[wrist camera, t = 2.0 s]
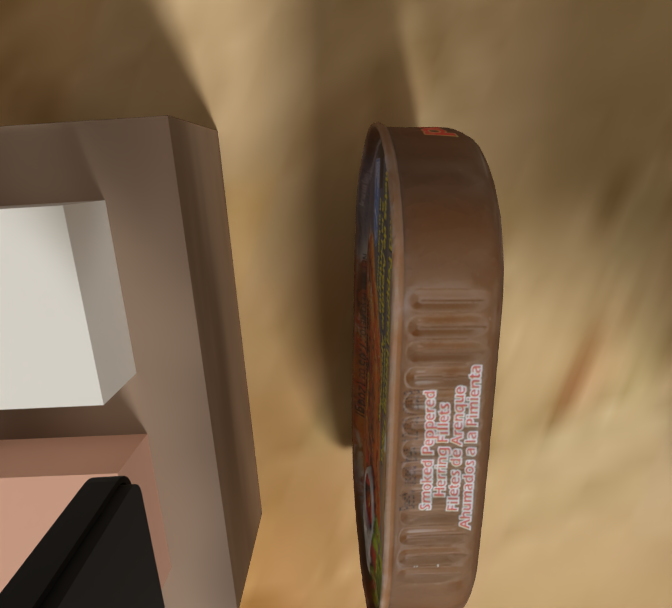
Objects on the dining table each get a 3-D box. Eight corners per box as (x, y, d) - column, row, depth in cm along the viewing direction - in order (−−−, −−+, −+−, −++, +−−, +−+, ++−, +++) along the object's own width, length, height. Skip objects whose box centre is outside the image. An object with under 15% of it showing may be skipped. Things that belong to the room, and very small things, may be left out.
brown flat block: (217, 131, 17) (167, 115, 12) (262, 513, 21) (237, 613, 17) (-84, 149, 17) (-248, 142, 13) (18, 522, 22) (-75, 622, 17)
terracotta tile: (147, 433, 15) (117, 473, 13) (171, 567, 16) (147, 621, 14) (-12, 440, 15) (-66, 480, 13) (24, 572, 16) (-19, 627, 14)
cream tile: (104, 200, 13) (63, 205, 11) (136, 373, 14) (103, 404, 12) (-77, 210, 13) (-150, 217, 11) (-30, 381, 14) (-87, 413, 12)
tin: (356, 134, 17) (368, 101, 9) (445, 134, 17) (537, 102, 9) (350, 497, 21) (354, 700, 13) (422, 498, 21) (471, 703, 13)
